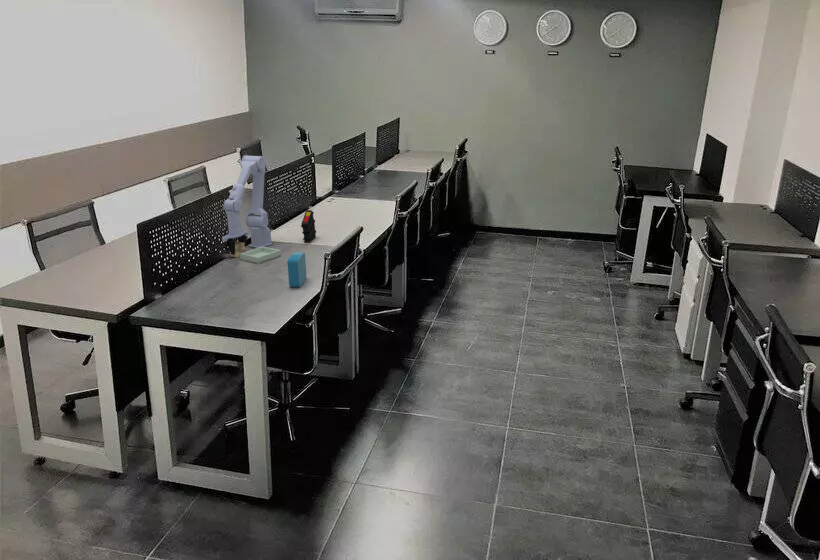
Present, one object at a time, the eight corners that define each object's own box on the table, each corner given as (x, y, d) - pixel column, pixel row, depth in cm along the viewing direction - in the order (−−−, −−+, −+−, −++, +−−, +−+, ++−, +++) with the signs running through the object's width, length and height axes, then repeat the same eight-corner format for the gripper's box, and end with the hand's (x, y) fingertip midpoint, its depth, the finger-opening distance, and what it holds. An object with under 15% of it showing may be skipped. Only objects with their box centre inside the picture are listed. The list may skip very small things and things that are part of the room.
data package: (296, 278, 281) (294, 251, 277) (306, 278, 281) (304, 251, 277) (289, 288, 270) (287, 259, 266) (300, 288, 270) (298, 260, 266)
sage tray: (263, 252, 318) (262, 246, 317) (281, 256, 311) (280, 250, 310) (240, 259, 307) (240, 253, 306) (258, 264, 300) (258, 257, 299)
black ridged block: (318, 232, 344) (313, 209, 333) (312, 249, 335) (307, 226, 324) (311, 232, 344) (305, 209, 334) (305, 249, 335) (299, 226, 325)
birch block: (238, 253, 317) (236, 241, 315) (245, 254, 314) (244, 242, 312) (230, 255, 313) (228, 243, 311) (237, 257, 310) (235, 245, 308)
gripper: (240, 220, 316) (243, 247, 321) (216, 226, 305) (219, 255, 309) (250, 222, 312) (253, 249, 317) (226, 228, 301) (229, 257, 306)
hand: (237, 252), depth 313 cm, fingers closed on birch block, 5 cm apart
